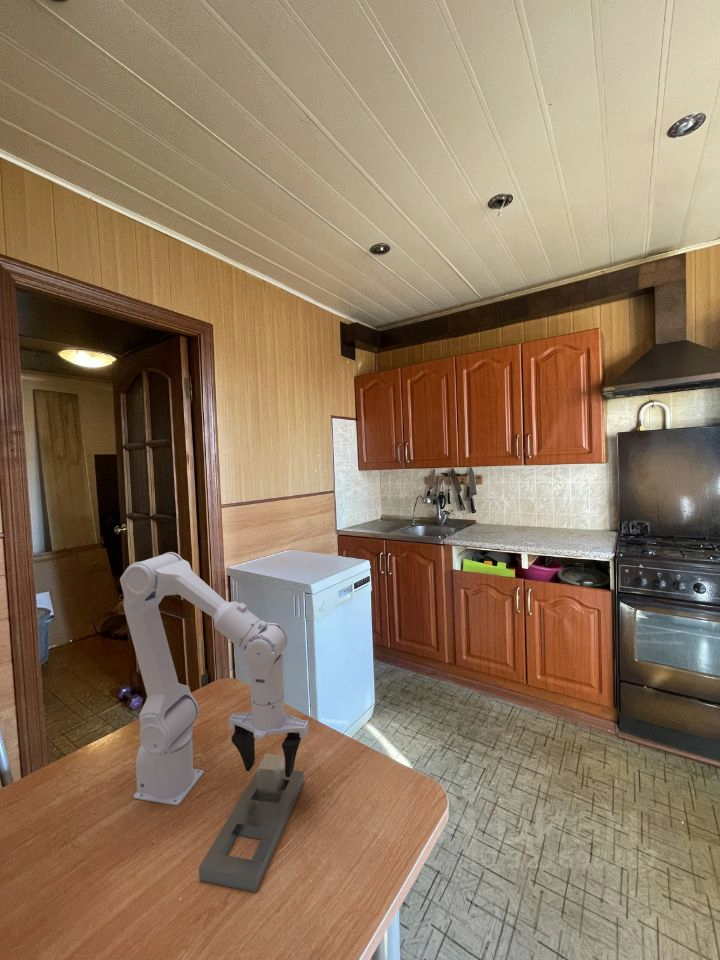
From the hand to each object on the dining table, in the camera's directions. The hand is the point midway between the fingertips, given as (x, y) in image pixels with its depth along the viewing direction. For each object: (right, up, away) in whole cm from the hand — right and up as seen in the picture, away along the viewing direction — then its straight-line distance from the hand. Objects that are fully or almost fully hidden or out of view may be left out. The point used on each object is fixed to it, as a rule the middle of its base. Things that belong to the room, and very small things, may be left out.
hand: (269, 770), depth 71 cm
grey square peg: (0, -6, 0) cm, 6 cm away
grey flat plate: (-1, -6, -5) cm, 8 cm away
